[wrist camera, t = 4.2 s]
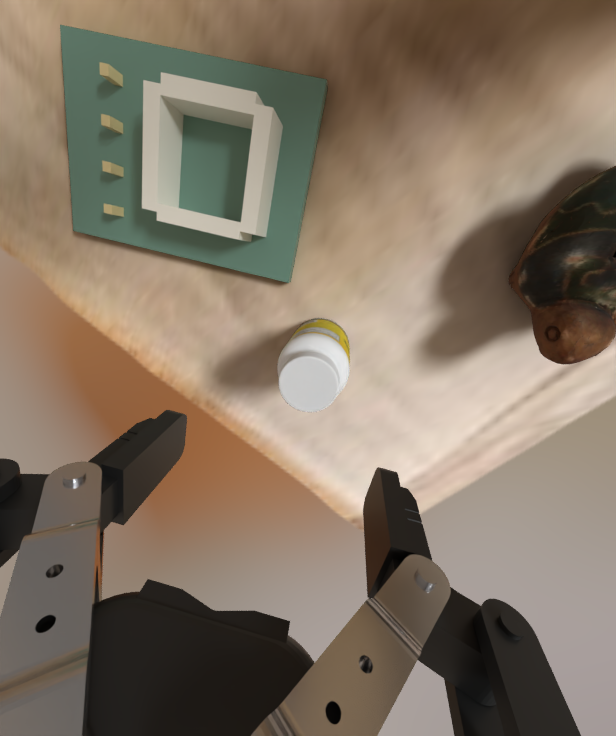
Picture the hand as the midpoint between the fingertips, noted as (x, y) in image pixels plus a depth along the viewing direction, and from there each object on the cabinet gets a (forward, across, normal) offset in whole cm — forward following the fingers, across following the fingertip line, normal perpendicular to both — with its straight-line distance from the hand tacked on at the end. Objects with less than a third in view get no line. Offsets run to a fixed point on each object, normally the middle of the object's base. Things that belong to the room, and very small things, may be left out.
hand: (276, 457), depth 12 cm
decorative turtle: (+18, -17, -12) cm, 27 cm away
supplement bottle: (+18, 0, 0) cm, 18 cm away
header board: (+18, +14, -12) cm, 25 cm away
